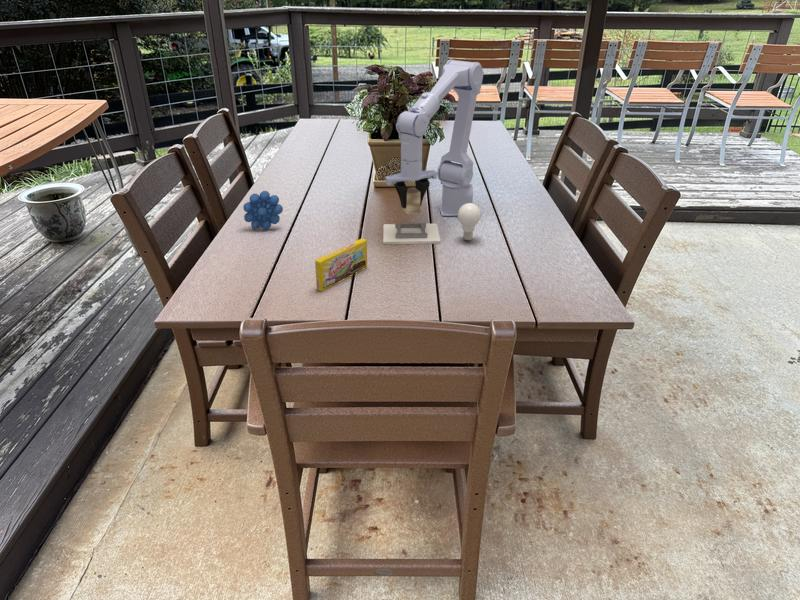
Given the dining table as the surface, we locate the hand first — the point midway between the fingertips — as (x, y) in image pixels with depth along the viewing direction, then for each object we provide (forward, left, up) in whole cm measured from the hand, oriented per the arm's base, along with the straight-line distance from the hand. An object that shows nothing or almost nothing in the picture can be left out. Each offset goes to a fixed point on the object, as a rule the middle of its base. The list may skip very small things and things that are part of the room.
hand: (411, 205), depth 154 cm
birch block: (0, 0, -2) cm, 2 cm away
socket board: (0, 0, -9) cm, 9 cm away
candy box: (+18, +25, -9) cm, 32 cm away
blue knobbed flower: (+43, -6, -9) cm, 44 cm away
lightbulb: (-16, +4, -9) cm, 19 cm away
